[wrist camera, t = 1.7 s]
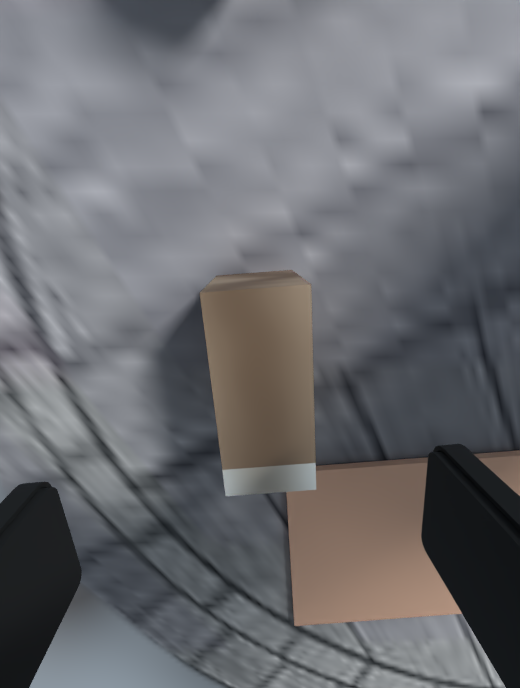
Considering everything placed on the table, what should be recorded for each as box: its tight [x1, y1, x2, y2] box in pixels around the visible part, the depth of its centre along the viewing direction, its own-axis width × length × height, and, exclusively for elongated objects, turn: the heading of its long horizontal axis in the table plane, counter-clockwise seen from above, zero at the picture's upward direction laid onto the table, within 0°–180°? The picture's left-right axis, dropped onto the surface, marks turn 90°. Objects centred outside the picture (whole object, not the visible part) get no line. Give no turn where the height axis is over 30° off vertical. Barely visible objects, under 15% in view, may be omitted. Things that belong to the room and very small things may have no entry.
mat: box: [286, 450, 520, 626], centre depth 23 cm, size 20×14×1 cm
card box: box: [200, 270, 316, 496], centre depth 16 cm, size 4×9×6 cm, turn 4°
